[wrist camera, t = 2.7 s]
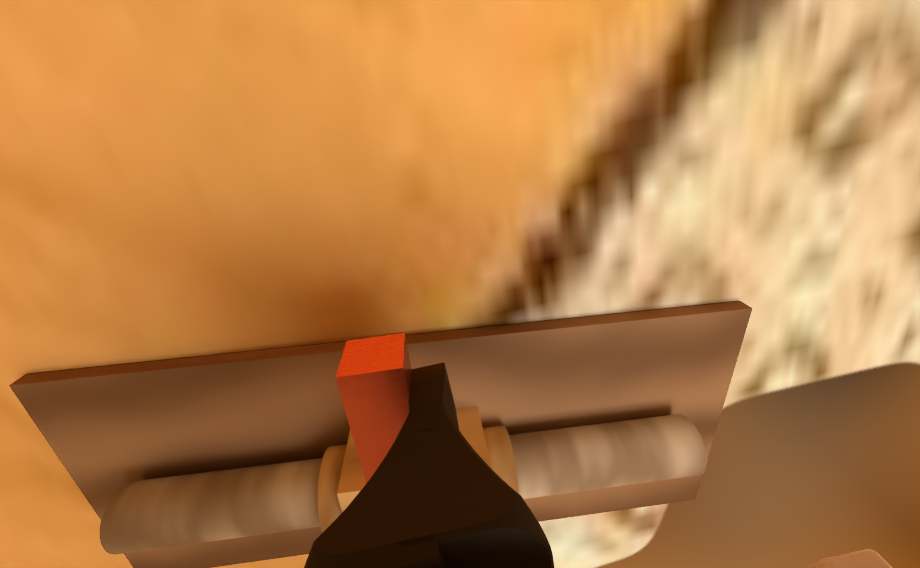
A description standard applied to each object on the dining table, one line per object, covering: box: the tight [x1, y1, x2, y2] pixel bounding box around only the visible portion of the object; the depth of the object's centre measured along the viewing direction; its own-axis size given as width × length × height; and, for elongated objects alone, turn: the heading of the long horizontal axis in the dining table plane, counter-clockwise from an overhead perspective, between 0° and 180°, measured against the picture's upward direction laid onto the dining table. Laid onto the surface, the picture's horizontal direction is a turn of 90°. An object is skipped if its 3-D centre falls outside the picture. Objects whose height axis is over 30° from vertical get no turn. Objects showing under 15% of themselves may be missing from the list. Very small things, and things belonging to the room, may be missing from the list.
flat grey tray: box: [9, 301, 752, 568], centre depth 19 cm, size 14×34×5 cm, turn 93°
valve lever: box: [336, 333, 412, 483], centre depth 14 cm, size 11×2×2 cm, turn 5°
